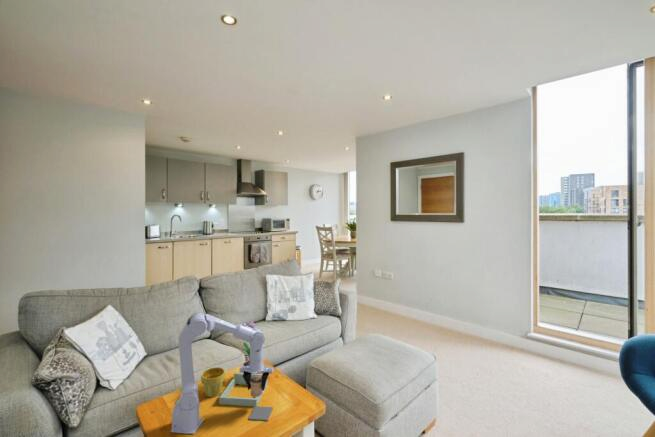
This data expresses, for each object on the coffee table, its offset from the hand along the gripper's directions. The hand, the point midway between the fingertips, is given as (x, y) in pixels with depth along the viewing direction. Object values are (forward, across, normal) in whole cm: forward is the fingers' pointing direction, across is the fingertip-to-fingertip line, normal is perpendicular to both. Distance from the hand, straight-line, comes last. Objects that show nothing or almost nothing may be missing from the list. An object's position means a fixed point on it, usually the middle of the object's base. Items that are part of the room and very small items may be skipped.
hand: (256, 388), depth 129 cm
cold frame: (+8, -9, +10) cm, 15 cm away
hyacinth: (+9, -10, +25) cm, 28 cm away
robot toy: (+9, -33, -1) cm, 34 cm away
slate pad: (+8, +3, -4) cm, 10 cm away
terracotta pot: (+2, 0, 0) cm, 2 cm away
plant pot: (+9, -24, +9) cm, 27 cm away
